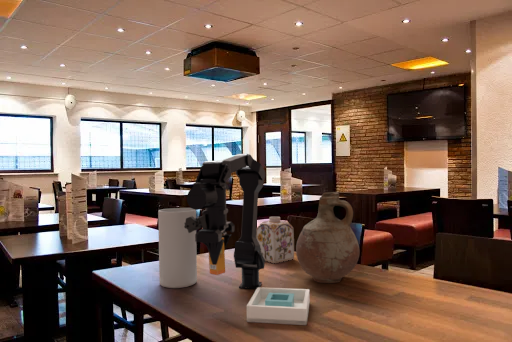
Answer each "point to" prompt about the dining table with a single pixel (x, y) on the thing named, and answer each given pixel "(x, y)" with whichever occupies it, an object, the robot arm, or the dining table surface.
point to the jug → (328, 242)
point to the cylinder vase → (176, 248)
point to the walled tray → (279, 306)
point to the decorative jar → (276, 240)
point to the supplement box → (218, 263)
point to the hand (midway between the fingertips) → (216, 262)
